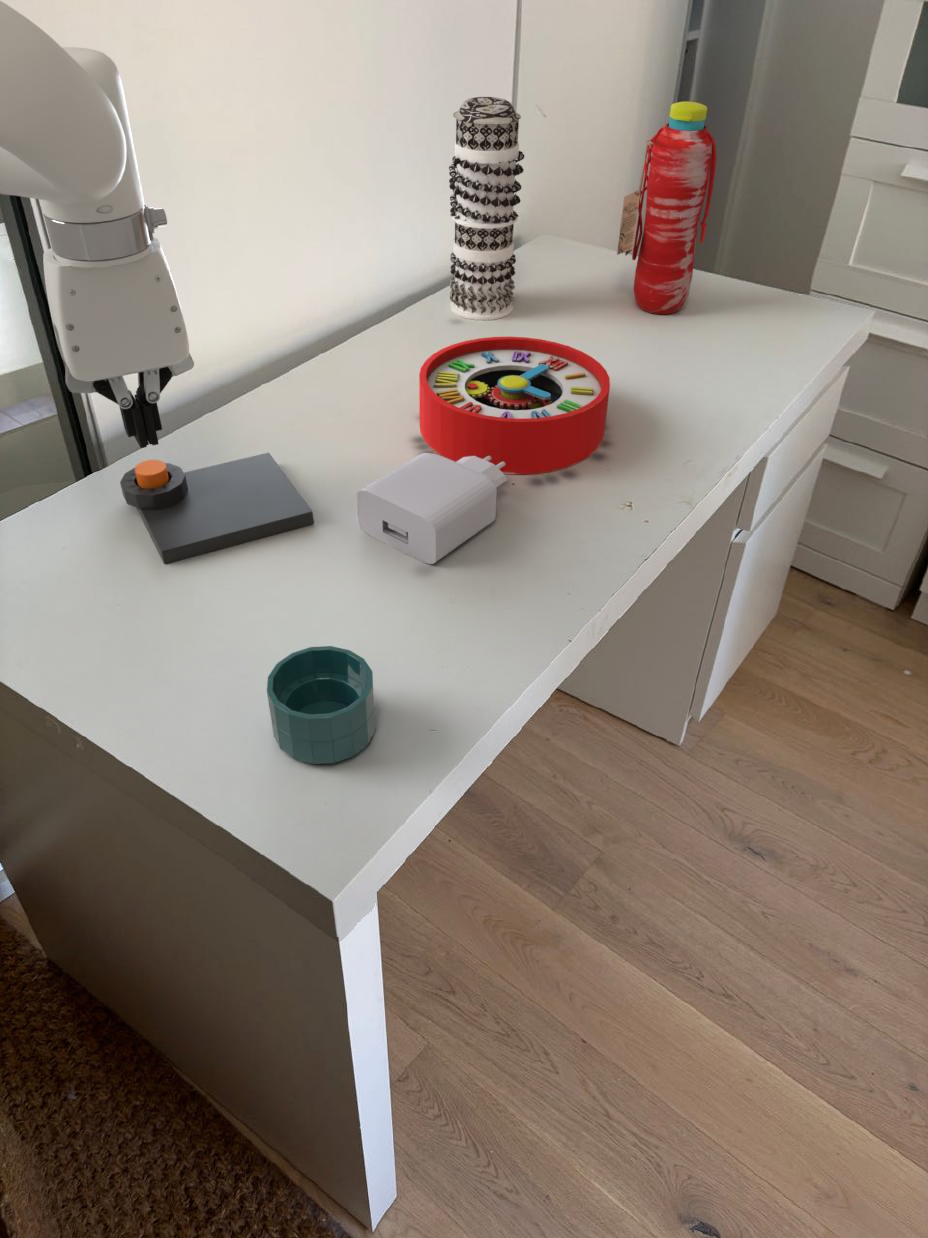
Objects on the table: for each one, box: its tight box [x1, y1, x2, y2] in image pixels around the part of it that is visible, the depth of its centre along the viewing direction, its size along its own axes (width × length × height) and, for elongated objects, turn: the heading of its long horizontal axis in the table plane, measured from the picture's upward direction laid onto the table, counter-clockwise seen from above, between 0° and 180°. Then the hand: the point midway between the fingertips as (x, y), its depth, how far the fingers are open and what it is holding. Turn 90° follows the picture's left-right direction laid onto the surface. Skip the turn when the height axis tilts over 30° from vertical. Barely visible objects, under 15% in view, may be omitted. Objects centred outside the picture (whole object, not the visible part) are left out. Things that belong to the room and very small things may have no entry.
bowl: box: [266, 645, 376, 765], centre depth 68 cm, size 7×7×5 cm
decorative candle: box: [448, 96, 525, 321], centre depth 122 cm, size 9×9×25 cm
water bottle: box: [616, 101, 717, 315], centre depth 124 cm, size 12×8×25 cm, turn 62°
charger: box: [356, 452, 508, 565], centre depth 90 cm, size 5×9×15 cm
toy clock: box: [418, 336, 611, 475], centre depth 103 cm, size 20×6×20 cm
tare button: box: [134, 459, 169, 488], centre depth 89 cm, size 3×3×2 cm
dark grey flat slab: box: [119, 452, 315, 565], centre depth 90 cm, size 15×12×3 cm
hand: (145, 439), depth 87 cm, fingers closed
